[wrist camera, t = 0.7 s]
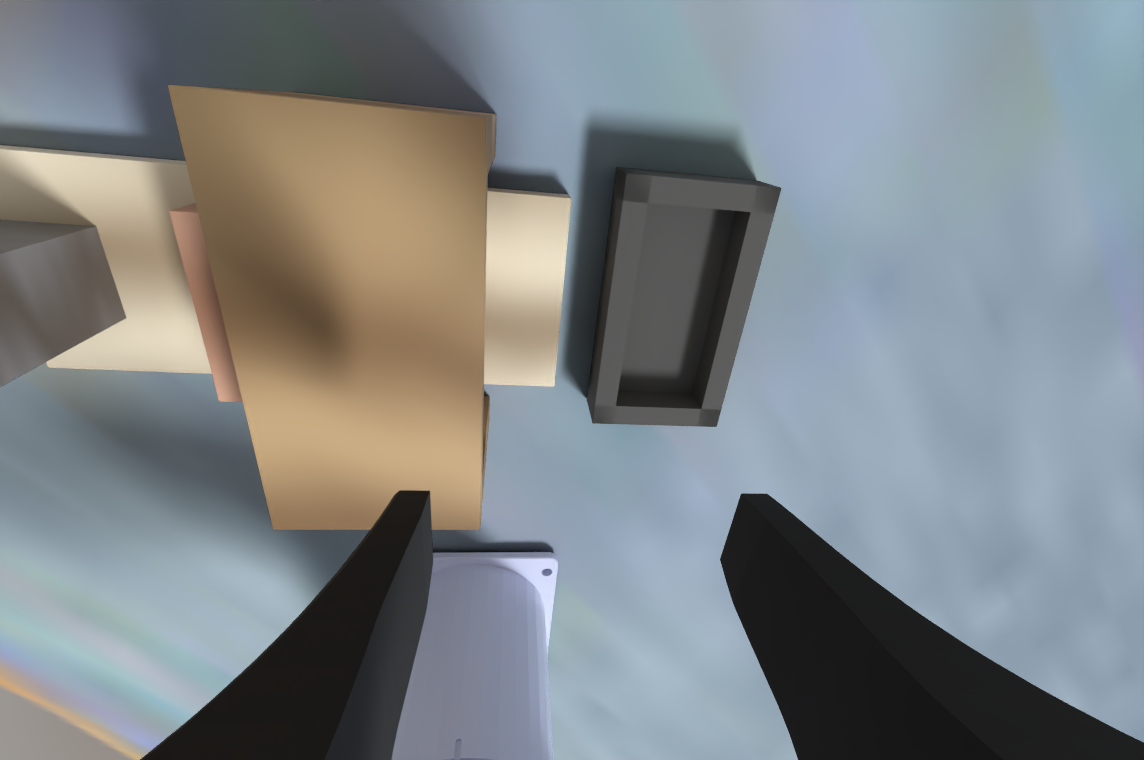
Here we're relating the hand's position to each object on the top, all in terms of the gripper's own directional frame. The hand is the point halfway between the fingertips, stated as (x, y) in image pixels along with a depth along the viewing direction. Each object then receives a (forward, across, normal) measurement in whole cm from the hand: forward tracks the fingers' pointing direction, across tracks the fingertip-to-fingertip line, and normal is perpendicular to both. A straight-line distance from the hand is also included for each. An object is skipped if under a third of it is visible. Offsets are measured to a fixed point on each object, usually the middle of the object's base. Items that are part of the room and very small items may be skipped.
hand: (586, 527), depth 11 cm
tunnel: (+10, +6, -2) cm, 12 cm away
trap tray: (+10, -4, -2) cm, 11 cm away
